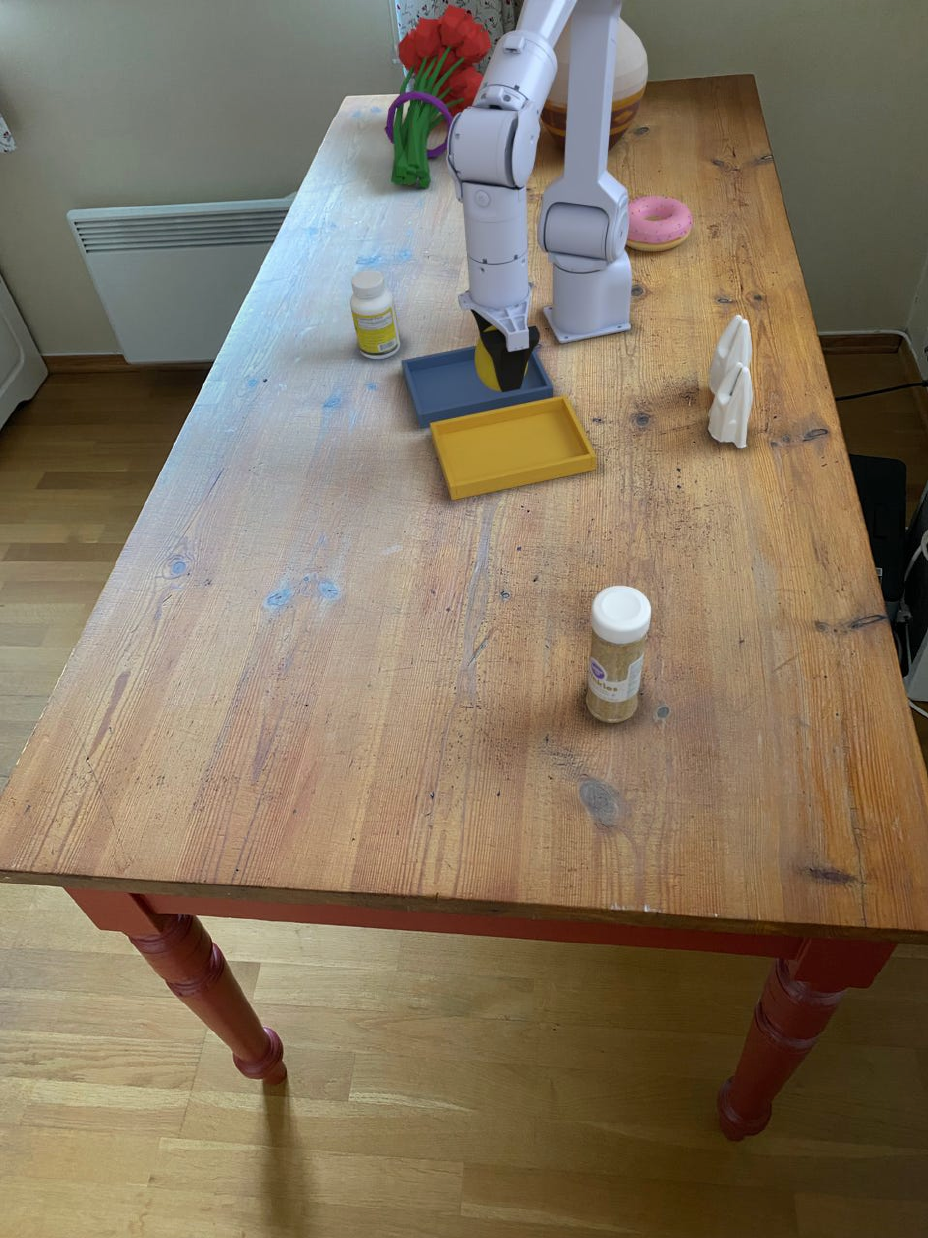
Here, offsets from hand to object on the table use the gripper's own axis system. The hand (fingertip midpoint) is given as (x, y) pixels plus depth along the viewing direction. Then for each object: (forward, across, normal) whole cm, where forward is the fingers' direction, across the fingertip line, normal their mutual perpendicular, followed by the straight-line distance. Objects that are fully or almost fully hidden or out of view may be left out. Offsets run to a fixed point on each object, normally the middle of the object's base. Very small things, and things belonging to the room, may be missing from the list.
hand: (503, 371), depth 93 cm
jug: (+10, -68, +31) cm, 75 cm away
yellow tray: (+10, +2, 0) cm, 10 cm away
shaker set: (+10, +2, +25) cm, 27 cm away
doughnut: (+10, -38, +31) cm, 50 cm away
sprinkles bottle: (+10, +36, 0) cm, 38 cm away
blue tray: (+10, -12, -1) cm, 15 cm away
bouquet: (+10, -76, +7) cm, 77 cm away
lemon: (+3, 0, 0) cm, 3 cm away
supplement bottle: (+10, -23, -11) cm, 28 cm away
